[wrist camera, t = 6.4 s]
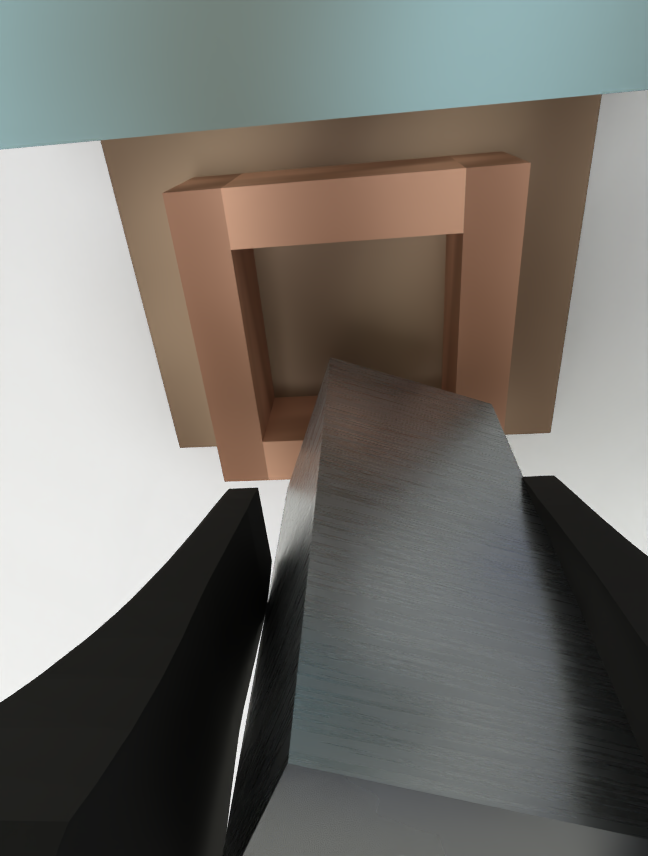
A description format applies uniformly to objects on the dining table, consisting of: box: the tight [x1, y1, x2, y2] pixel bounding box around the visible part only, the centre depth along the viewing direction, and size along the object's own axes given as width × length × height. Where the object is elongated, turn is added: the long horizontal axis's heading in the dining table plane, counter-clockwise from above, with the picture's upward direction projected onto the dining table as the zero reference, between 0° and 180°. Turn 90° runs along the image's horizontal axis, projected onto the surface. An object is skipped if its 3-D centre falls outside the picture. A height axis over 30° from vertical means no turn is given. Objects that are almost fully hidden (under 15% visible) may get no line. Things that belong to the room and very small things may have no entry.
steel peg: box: [222, 357, 648, 856], centre depth 10 cm, size 4×4×9 cm
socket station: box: [0, 0, 648, 482], centre depth 13 cm, size 14×16×11 cm
